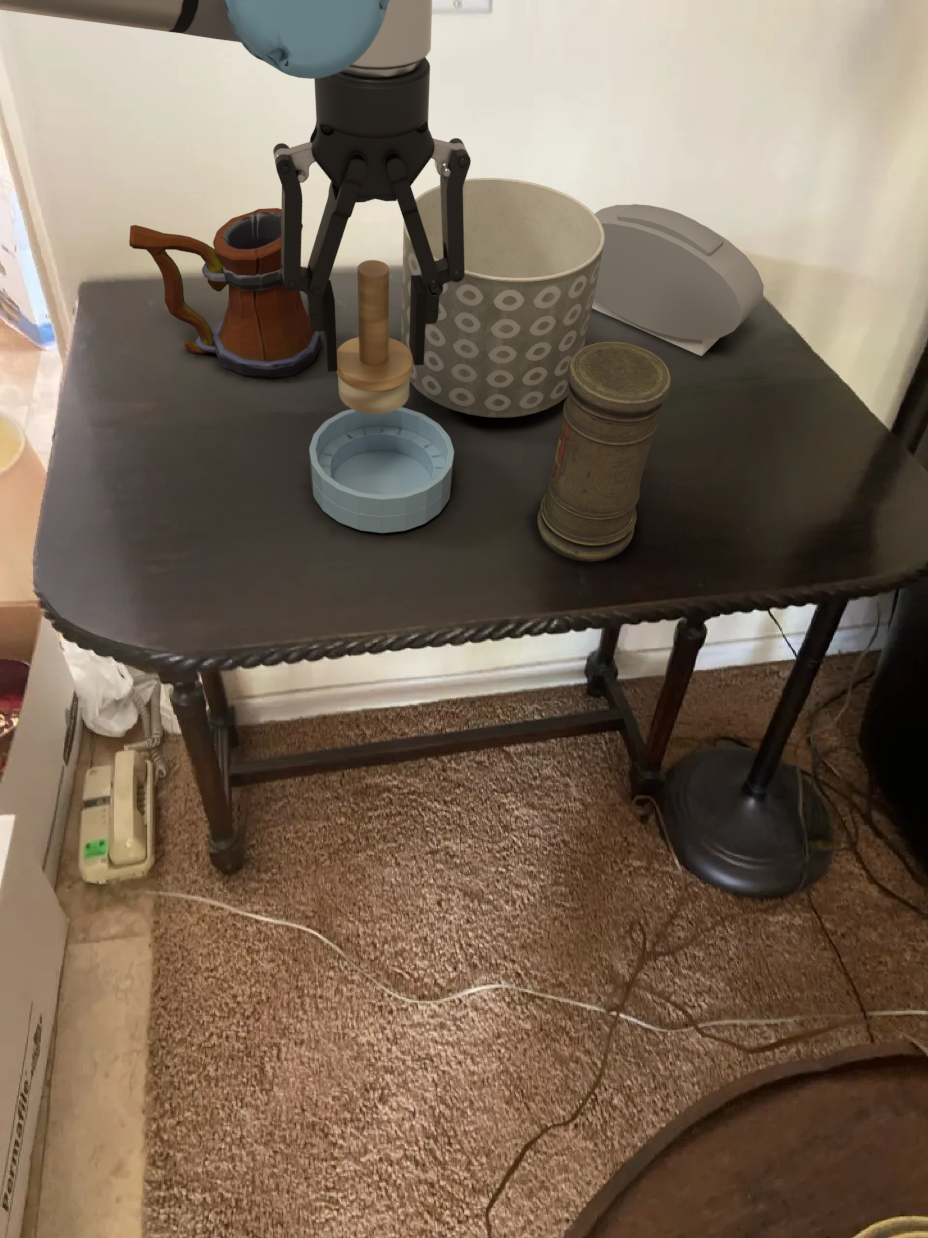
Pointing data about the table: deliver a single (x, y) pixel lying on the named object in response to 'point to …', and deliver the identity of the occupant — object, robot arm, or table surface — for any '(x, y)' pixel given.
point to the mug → (240, 296)
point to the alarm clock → (673, 277)
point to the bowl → (381, 469)
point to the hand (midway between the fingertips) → (374, 357)
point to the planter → (507, 298)
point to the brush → (373, 350)
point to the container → (602, 450)
